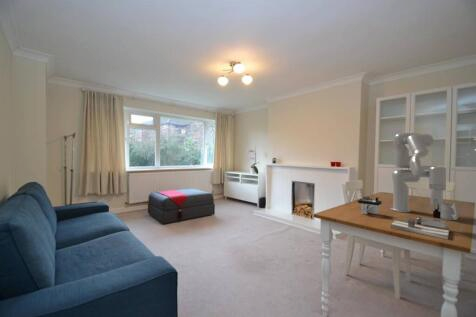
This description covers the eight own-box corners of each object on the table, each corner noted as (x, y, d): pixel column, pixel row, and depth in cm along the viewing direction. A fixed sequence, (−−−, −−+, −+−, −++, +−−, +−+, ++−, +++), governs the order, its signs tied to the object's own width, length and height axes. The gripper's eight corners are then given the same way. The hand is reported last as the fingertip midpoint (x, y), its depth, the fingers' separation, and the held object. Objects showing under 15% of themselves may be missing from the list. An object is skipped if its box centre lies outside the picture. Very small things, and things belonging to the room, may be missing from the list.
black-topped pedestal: (342, 213, 167) (342, 195, 166) (356, 207, 184) (356, 191, 184) (385, 222, 146) (386, 202, 145) (397, 215, 163) (397, 197, 163)
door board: (397, 221, 148) (397, 212, 148) (449, 230, 130) (449, 220, 130) (390, 227, 135) (391, 217, 135) (447, 239, 117) (447, 228, 117)
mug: (448, 217, 157) (448, 200, 156) (463, 222, 145) (464, 204, 144) (436, 217, 157) (437, 200, 157) (451, 222, 145) (451, 204, 145)
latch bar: (416, 223, 136) (416, 217, 135) (417, 222, 137) (417, 217, 137) (445, 228, 126) (445, 222, 126) (445, 227, 128) (445, 221, 128)
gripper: (430, 185, 142) (430, 214, 142) (427, 187, 132) (427, 218, 132) (446, 186, 137) (446, 216, 137) (444, 189, 126) (444, 221, 127)
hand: (436, 217), depth 134 cm, fingers closed
